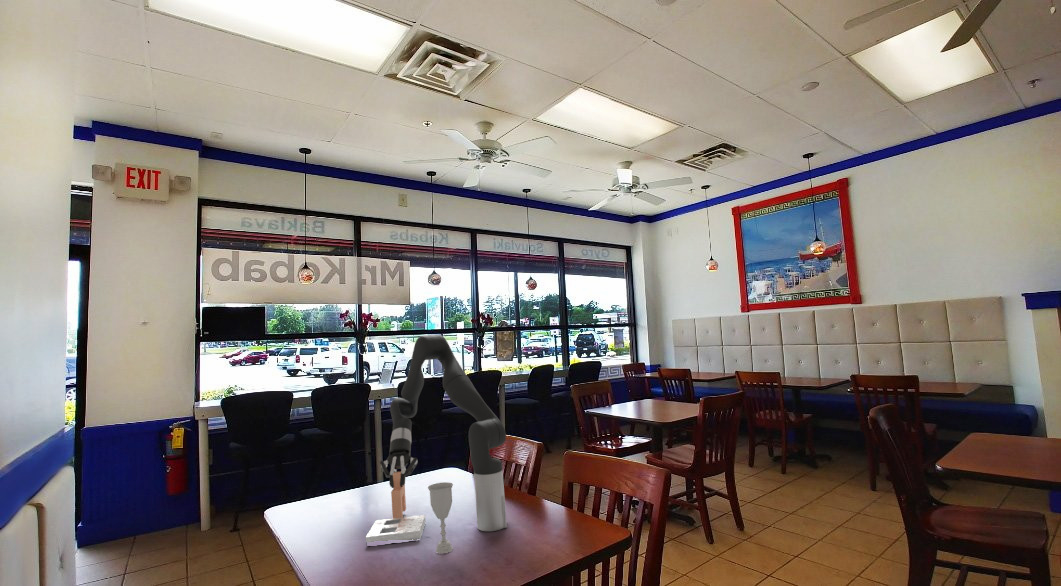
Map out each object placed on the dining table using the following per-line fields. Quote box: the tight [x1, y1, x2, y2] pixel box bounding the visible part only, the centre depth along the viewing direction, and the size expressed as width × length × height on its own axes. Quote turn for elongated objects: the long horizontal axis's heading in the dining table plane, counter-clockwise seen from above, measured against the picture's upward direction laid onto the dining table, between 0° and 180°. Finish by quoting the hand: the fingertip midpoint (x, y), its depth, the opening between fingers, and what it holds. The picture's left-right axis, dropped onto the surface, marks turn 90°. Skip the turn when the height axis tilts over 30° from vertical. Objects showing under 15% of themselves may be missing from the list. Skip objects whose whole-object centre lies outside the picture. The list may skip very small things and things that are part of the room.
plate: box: [365, 514, 426, 543], centre depth 156 cm, size 16×14×3 cm
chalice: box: [427, 481, 454, 554], centre depth 143 cm, size 7×7×18 cm
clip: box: [390, 471, 407, 519], centre depth 172 cm, size 3×10×14 cm, turn 5°
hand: (397, 486), depth 171 cm, fingers closed on clip, 2 cm apart
